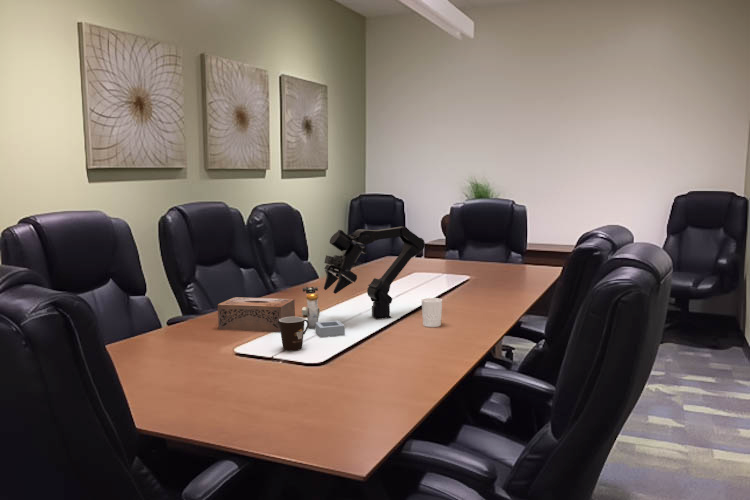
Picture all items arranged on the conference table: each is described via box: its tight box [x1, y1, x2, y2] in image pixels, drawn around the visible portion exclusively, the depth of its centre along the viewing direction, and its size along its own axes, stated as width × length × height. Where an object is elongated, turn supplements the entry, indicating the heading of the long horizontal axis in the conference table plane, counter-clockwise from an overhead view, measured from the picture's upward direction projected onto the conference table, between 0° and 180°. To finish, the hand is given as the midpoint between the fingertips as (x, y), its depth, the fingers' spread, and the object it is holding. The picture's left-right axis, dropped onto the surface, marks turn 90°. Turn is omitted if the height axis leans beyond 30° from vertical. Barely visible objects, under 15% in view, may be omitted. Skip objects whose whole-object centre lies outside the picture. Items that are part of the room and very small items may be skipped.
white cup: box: [421, 297, 443, 328], centre depth 233 cm, size 8×8×10 cm
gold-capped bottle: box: [305, 292, 319, 329], centre depth 232 cm, size 5×5×13 cm
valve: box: [301, 286, 320, 317], centre depth 251 cm, size 7×7×12 cm
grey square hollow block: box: [314, 319, 346, 338], centre depth 223 cm, size 9×9×4 cm
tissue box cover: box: [217, 296, 296, 333], centre depth 235 cm, size 26×14×10 cm, turn 77°
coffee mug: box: [279, 316, 309, 352], centre depth 204 cm, size 12×9×10 cm
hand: (329, 291), depth 236 cm, fingers open, 9 cm apart
